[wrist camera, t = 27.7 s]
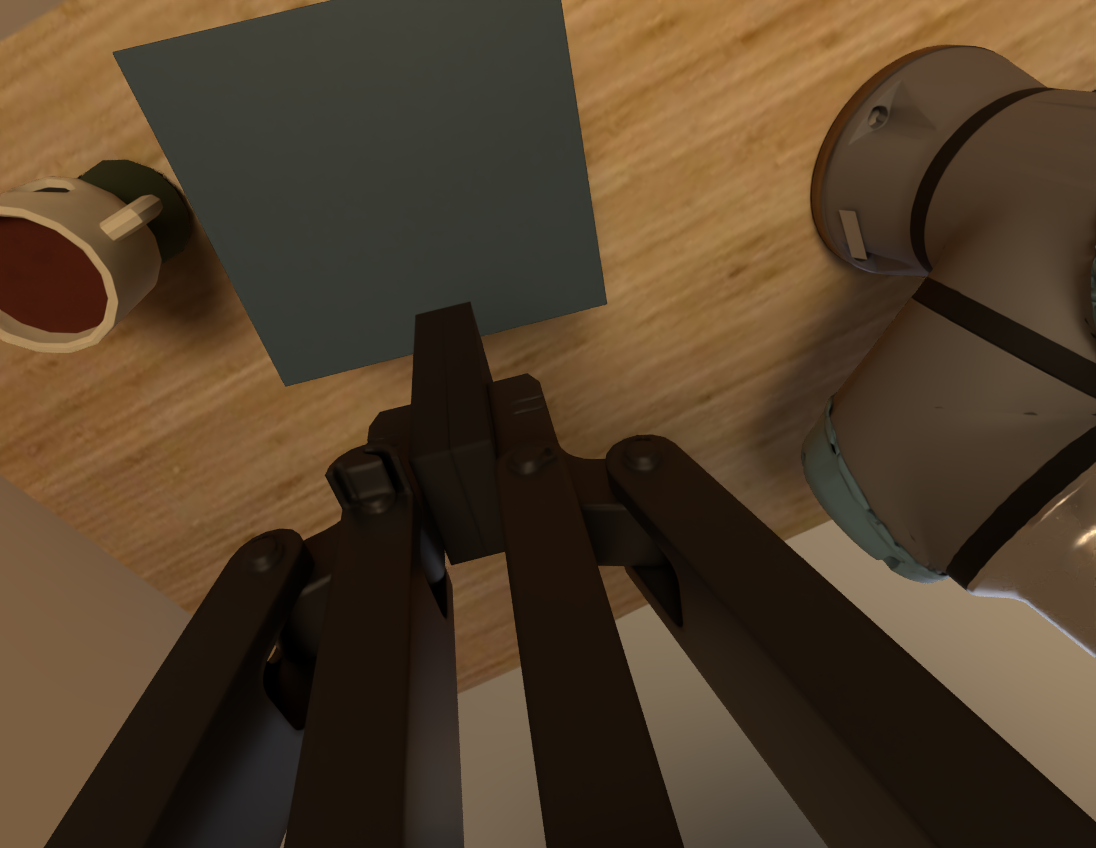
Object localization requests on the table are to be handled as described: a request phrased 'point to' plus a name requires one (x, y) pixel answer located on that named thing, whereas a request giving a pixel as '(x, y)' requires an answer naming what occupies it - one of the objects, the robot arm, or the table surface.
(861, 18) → the table surface
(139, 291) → the character mug
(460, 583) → the table surface
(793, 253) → the table surface
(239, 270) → the bin lid
